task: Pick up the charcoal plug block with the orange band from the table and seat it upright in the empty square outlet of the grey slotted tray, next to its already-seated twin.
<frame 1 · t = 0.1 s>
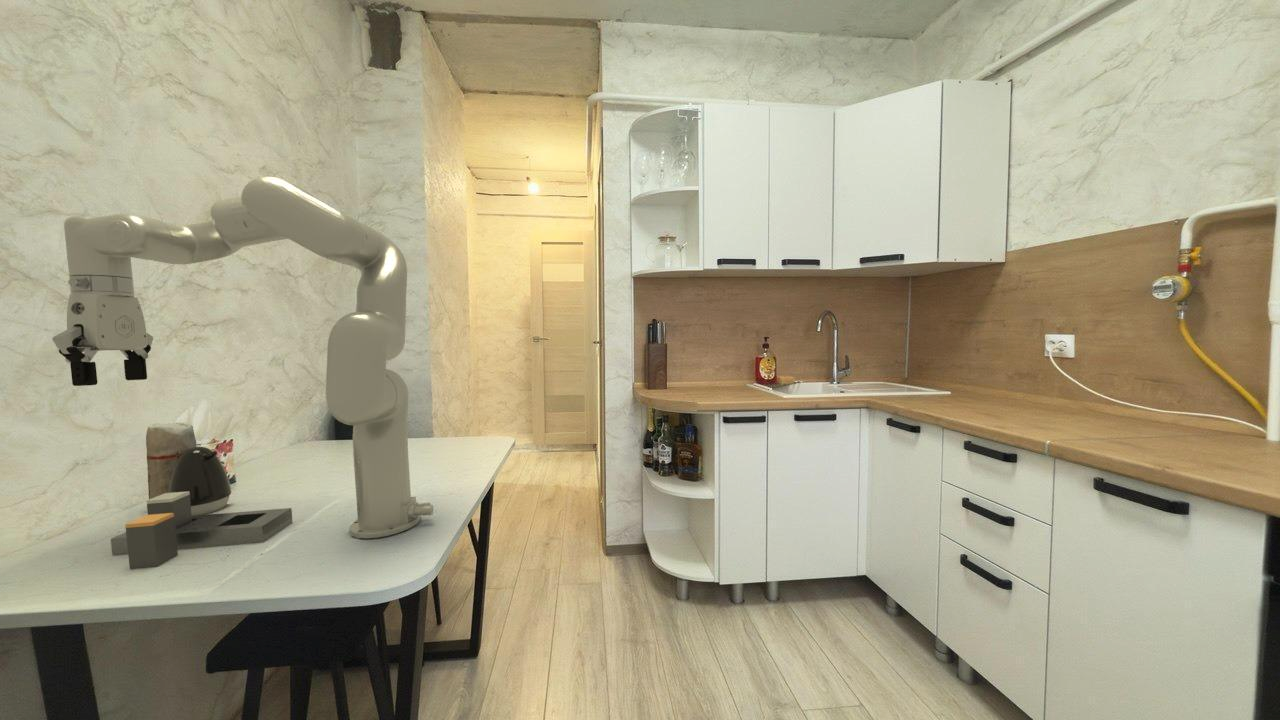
hand: (112, 382, 85), 31 cm above the table, fingers open, 9 cm apart
grey slotted tray: (209, 542, 88), on the table
plug: (155, 567, 79), on the table
dark grey dome: (202, 515, 103), on the table
tan rounded column: (175, 510, 106), on the table
twin plug: (172, 540, 87), resting on grey slotted tray
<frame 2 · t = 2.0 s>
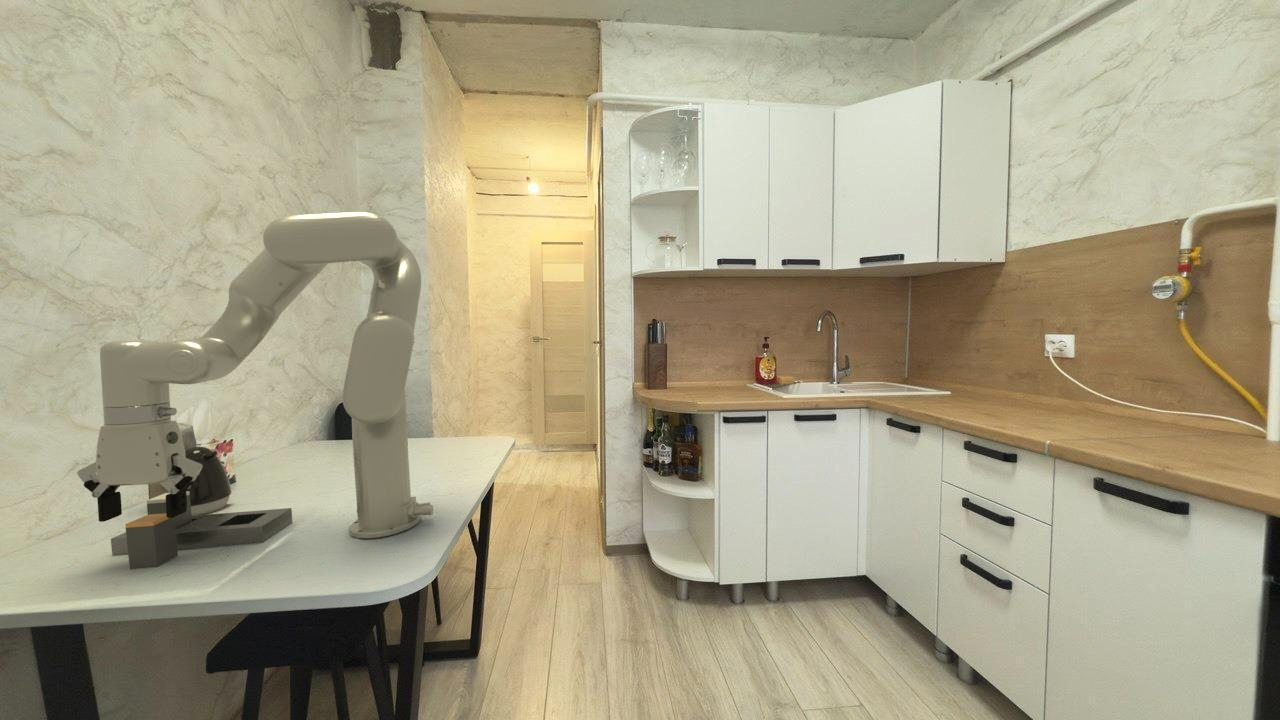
hand: (144, 516, 78), 9 cm above the table, fingers open, 9 cm apart
nothing on the table moved.
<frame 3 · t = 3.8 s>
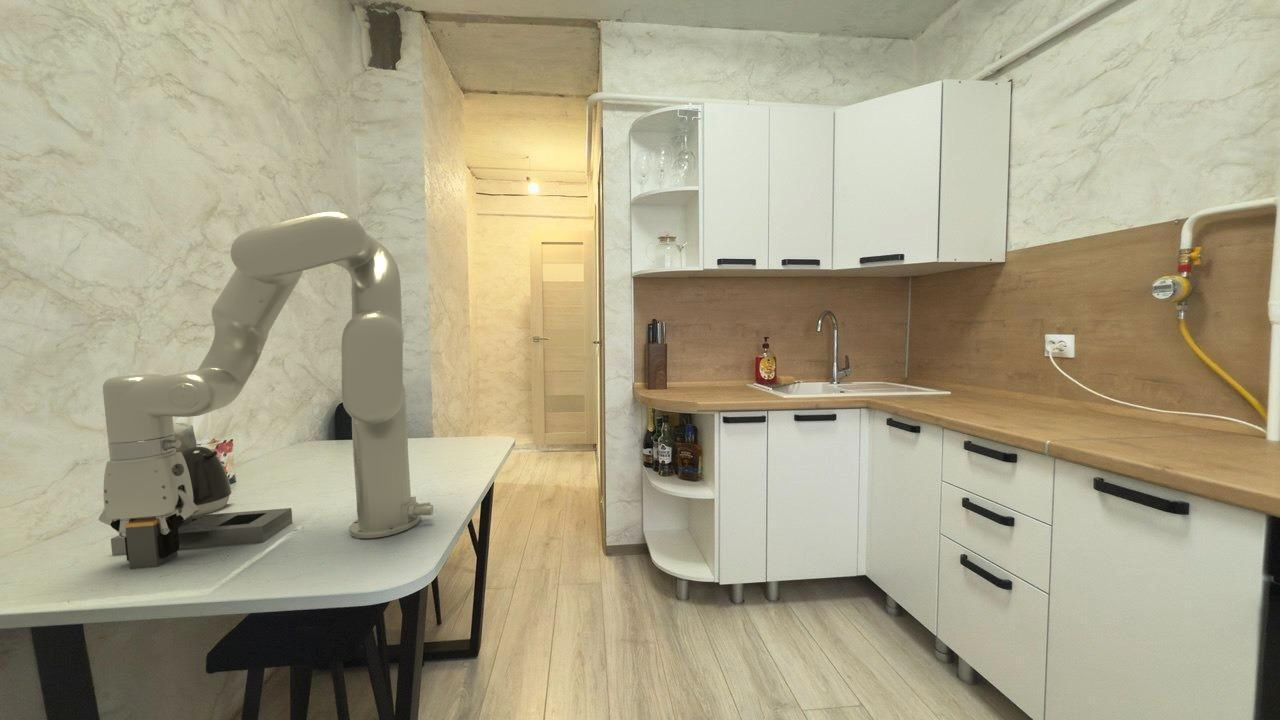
hand: (153, 554, 78), 2 cm above the table, fingers closed on plug, 4 cm apart
plug: (154, 567, 79), on the table, touching gripper
everything else where it was.
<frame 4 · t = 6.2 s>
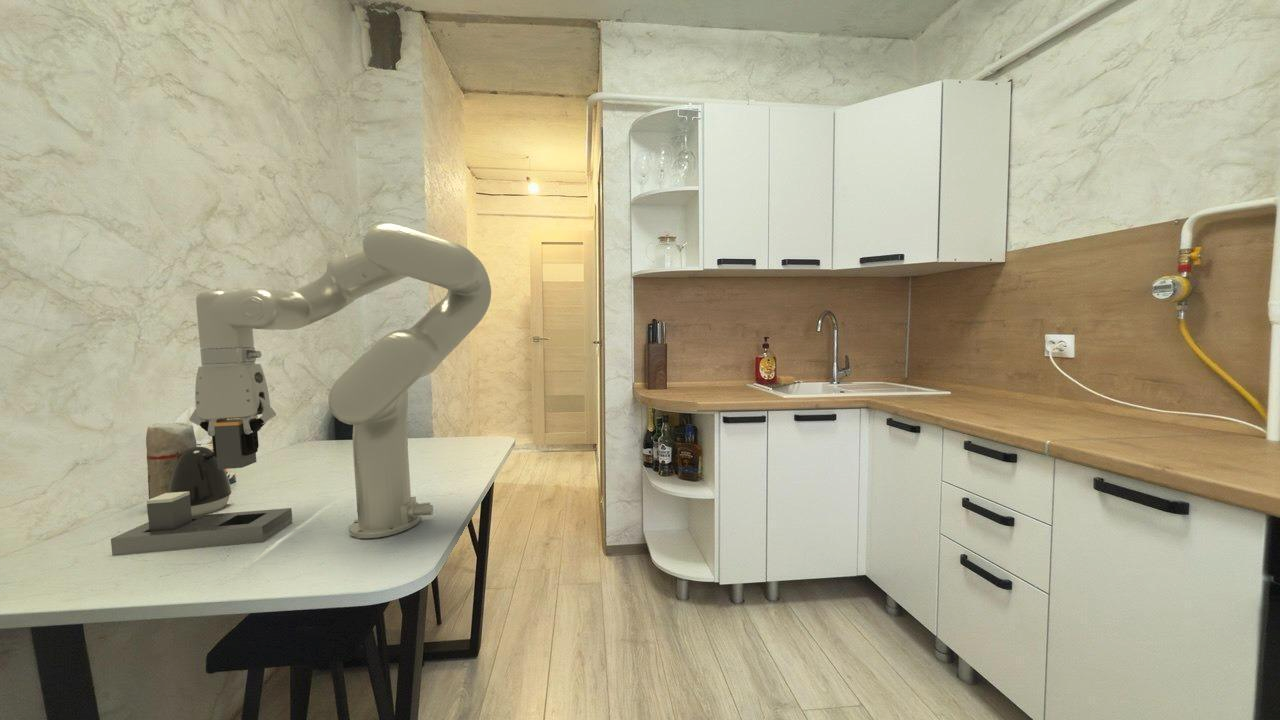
hand: (236, 453, 88), 17 cm above the table, fingers closed on plug, 4 cm apart
plug: (237, 465, 88), point 14 cm above the table, touching gripper
everything else where it was.
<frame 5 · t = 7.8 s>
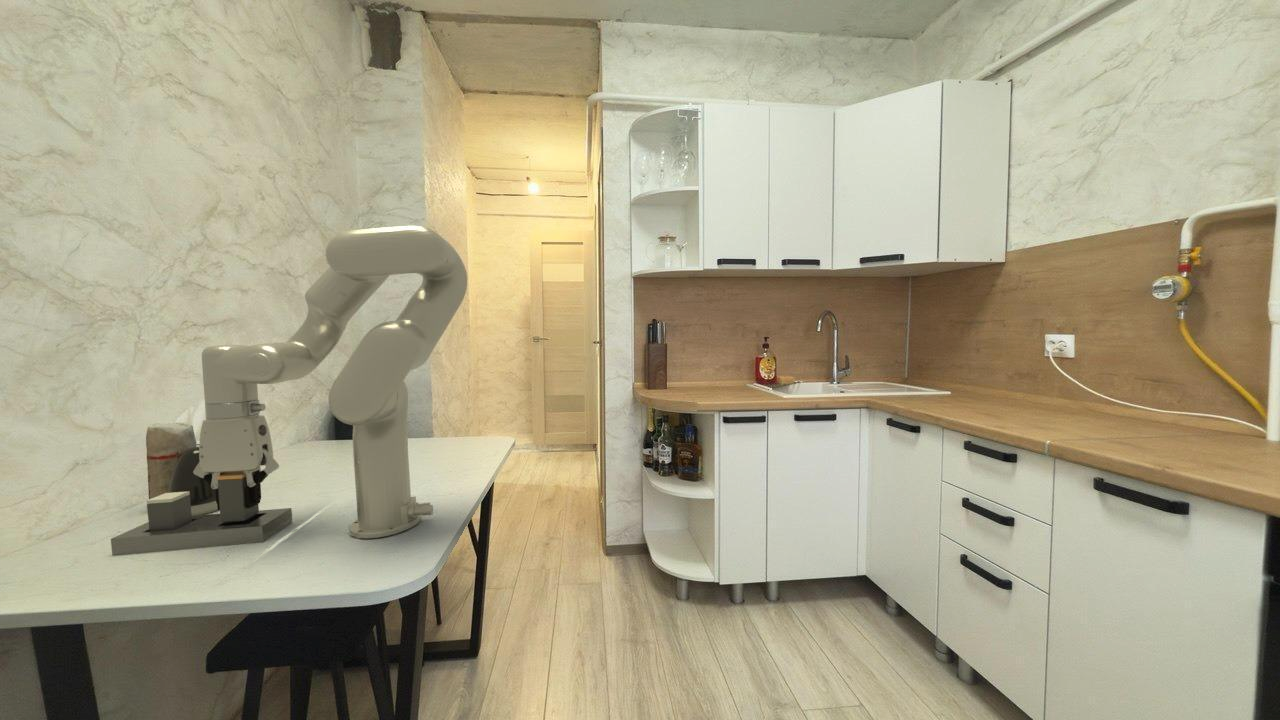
hand: (239, 505, 88), 7 cm above the table, fingers closed on plug, 4 cm apart
plug: (240, 517, 88), point 4 cm above the table, touching gripper
everything else where it was.
when the fingers open (5 cm above the table, at t = 9.0 s): plug drops 1 cm, resting on grey slotted tray.
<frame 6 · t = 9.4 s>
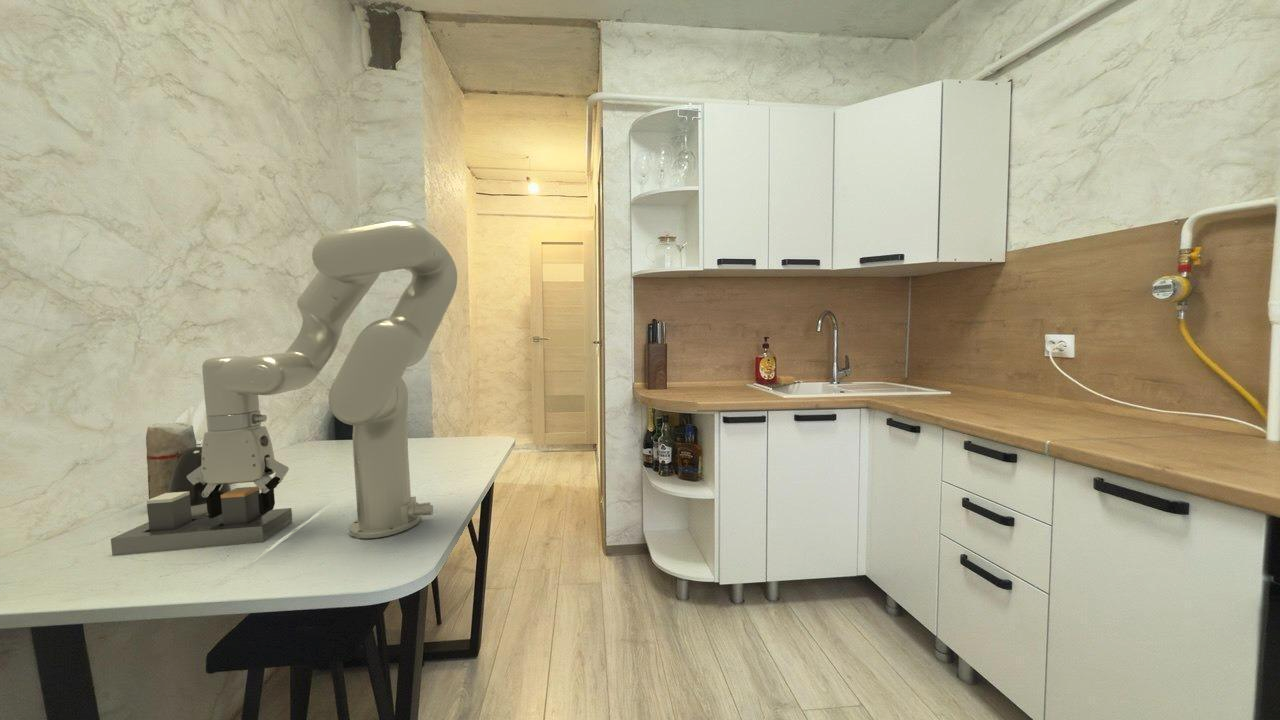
hand: (242, 512, 88), 5 cm above the table, fingers open, 8 cm apart
plug: (244, 534, 89), point 1 cm above the table, touching grey slotted tray
everything else where it was.
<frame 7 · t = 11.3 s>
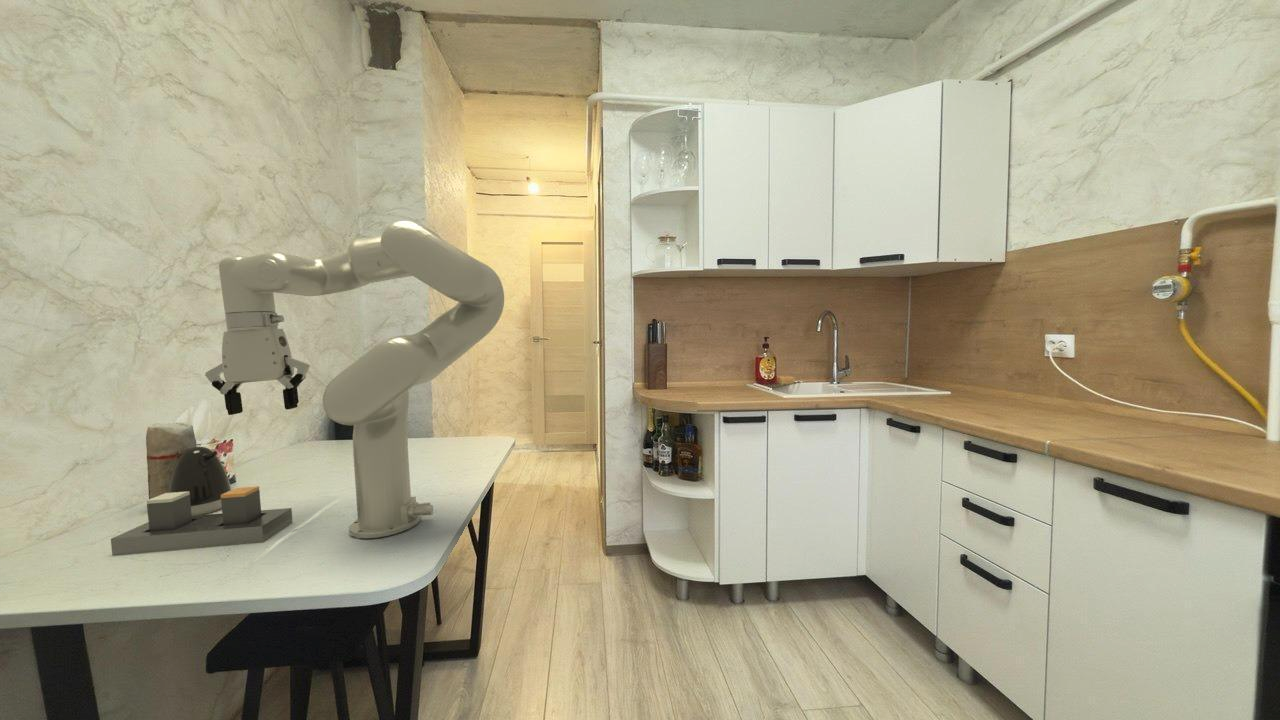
hand: (263, 411, 90), 24 cm above the table, fingers open, 9 cm apart
nothing on the table moved.
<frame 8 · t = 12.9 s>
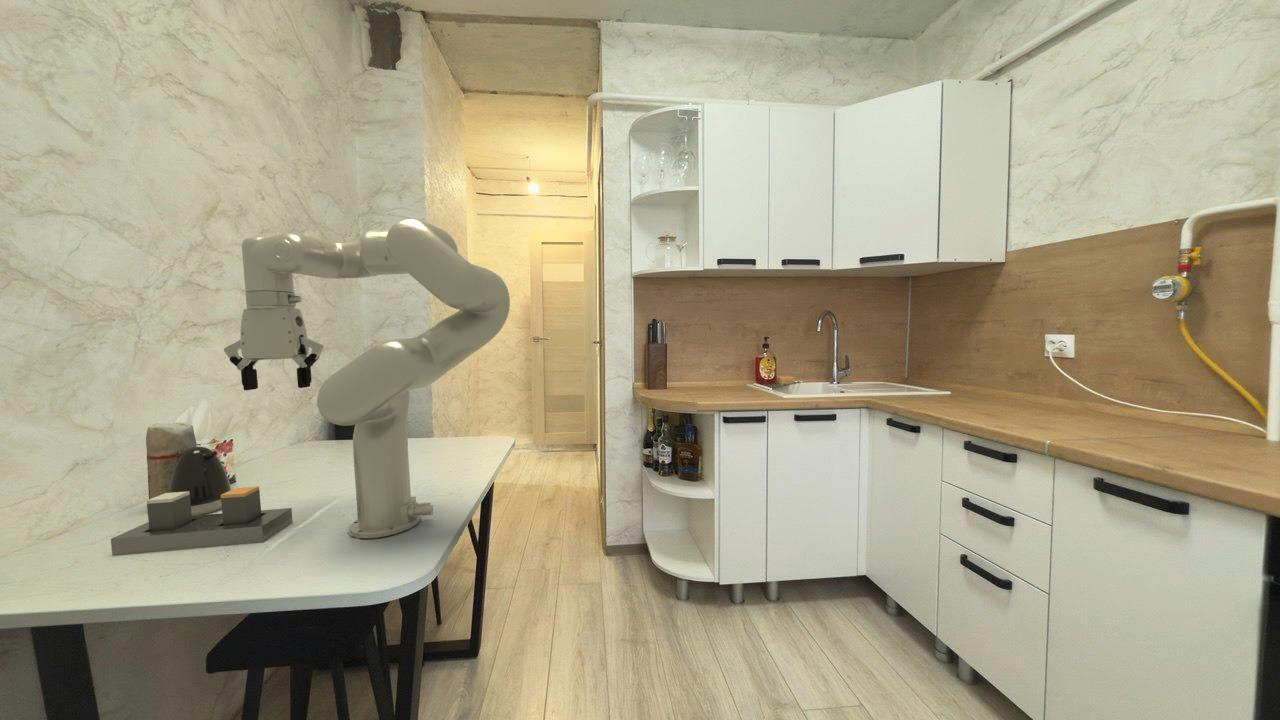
hand: (277, 388, 93), 28 cm above the table, fingers open, 9 cm apart
nothing on the table moved.
at the end: plug 0.0 cm from the target spot on the grey slotted tray, point 1.0 cm above the grey slotted tray's base; plug tilted 0°; the gripper is holding nothing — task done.
